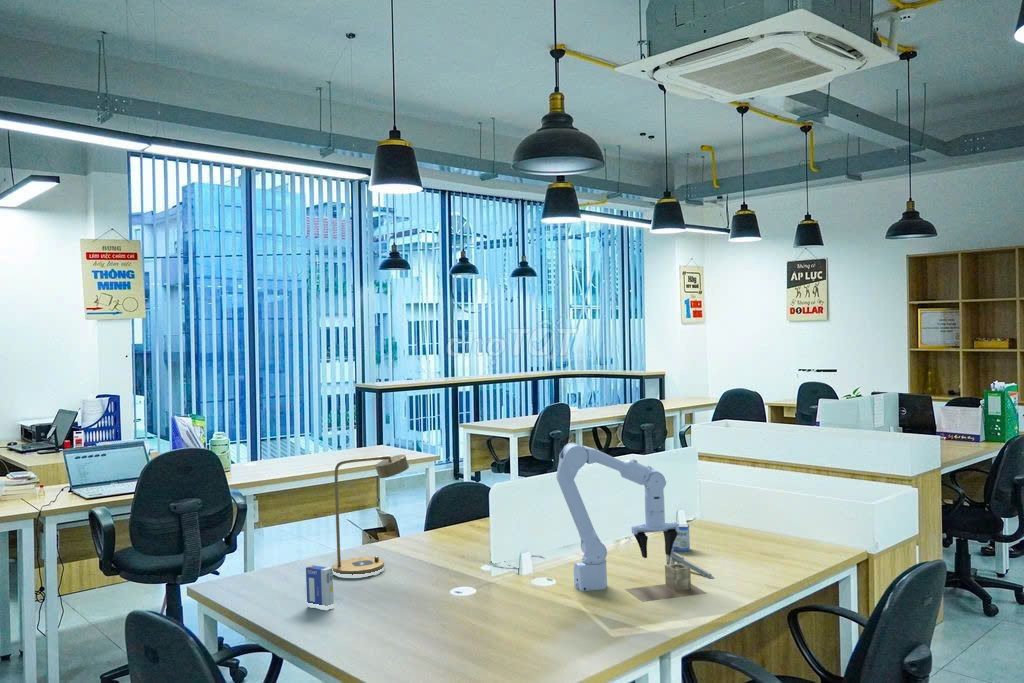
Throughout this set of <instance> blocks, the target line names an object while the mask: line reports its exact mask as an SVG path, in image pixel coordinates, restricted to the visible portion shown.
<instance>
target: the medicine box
mask: <svg viewBox="0 0 1024 683" xmlns="http://www.w3.org/2000/svg"><path fill="white" fill-rule="evenodd" d="M678 524H679V530H676V531H677V533H678V534H677V537H676V539H675V541H674V543H673V546H672V549H673V548H674V551H673V552H689V551H690V549H691V541H690V524H680V523H678Z"/></svg>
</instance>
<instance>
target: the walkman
mask: <svg viewBox="0 0 1024 683" xmlns="http://www.w3.org/2000/svg"><path fill="white" fill-rule="evenodd" d="M333 577H334V576H333V570H332V567H330V566H329V567H328V566H321V565H313V564H312V565H309V566H306V567H305V579H306V580H305V582H306V603H307V602H308V603H313V604H319V605H325V606H328V605H331V604H334V603H335V602H334V581H333ZM334 605H335V604H334Z"/></svg>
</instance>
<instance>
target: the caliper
mask: <svg viewBox="0 0 1024 683" xmlns="http://www.w3.org/2000/svg"><path fill="white" fill-rule="evenodd" d="M665 555H666V556H665V558H666V560H665V561H666V565H671V564H679V563H682V564H684V565H686V566H688V567H689V568H690V570H692V571H695V572H696V573H698V574H699V575H702V576H703V577H705V578H708V579H712V580H713V579H715V576H713V575H712V573H710V572H708V571H707V570H705V569H704V568H702V567H701V566H699V565H697V564H694V563H693V562H691V561H689V560H687V559H685V557H684V556H682V555H680V554H679V553H677V551H674V548H673V549H672V550H671V555H670V556H668V555H667V554H666V553H665Z"/></svg>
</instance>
